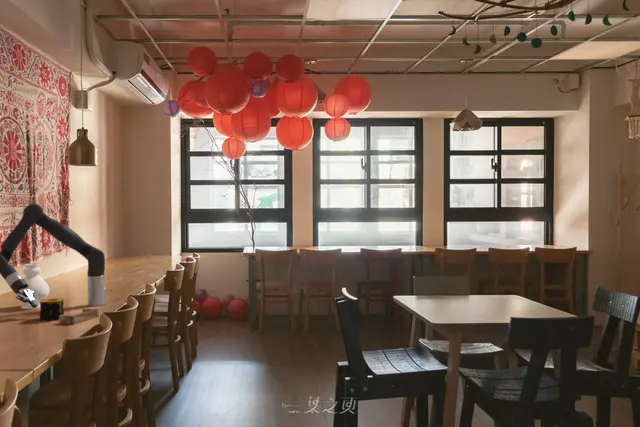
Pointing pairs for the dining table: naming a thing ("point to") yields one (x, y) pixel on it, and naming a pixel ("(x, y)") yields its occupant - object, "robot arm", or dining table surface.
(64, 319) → the dock
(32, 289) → the decorative vase
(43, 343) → the dining table surface
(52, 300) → the candle
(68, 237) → the robot arm
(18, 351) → the dining table surface
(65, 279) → the dining table surface
